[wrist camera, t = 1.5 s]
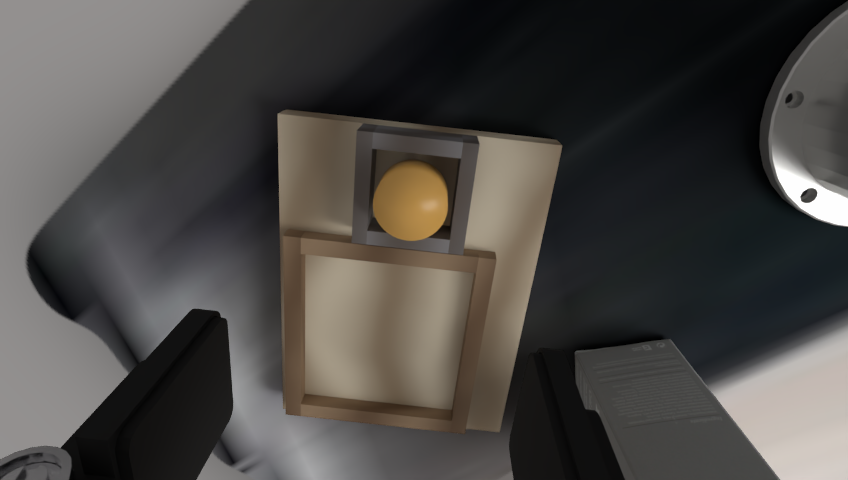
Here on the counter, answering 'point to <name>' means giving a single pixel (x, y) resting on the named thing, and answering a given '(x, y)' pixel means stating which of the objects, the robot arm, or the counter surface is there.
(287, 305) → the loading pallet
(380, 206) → the button
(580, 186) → the counter surface
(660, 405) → the skincare box
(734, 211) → the counter surface
